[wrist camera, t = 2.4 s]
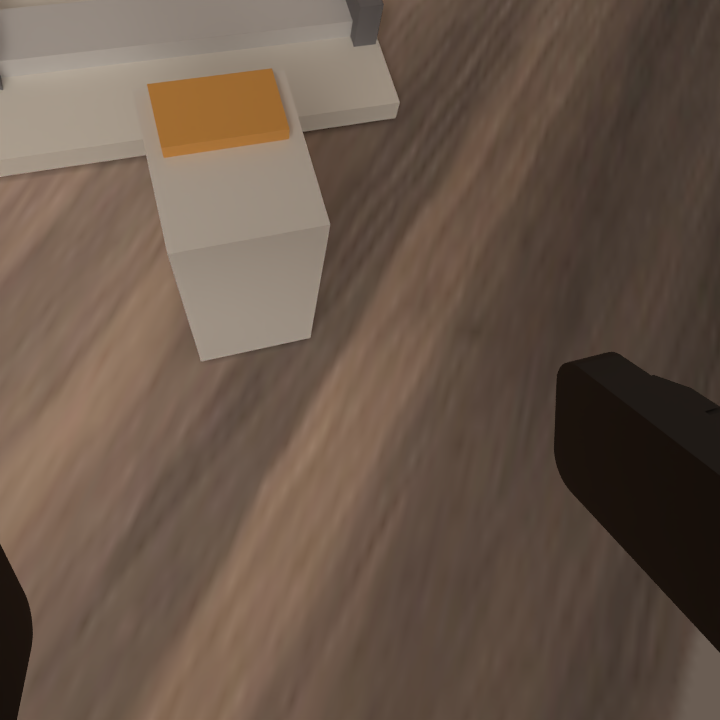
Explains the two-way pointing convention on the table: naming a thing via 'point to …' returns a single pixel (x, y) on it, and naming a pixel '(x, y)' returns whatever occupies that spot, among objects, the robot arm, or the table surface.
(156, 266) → the table surface
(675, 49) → the table surface
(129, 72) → the mounting board
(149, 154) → the rail module
